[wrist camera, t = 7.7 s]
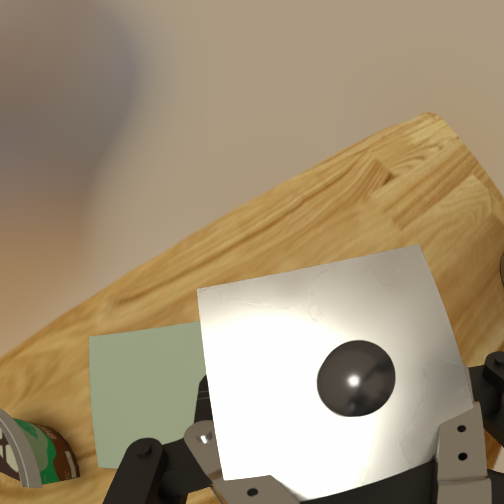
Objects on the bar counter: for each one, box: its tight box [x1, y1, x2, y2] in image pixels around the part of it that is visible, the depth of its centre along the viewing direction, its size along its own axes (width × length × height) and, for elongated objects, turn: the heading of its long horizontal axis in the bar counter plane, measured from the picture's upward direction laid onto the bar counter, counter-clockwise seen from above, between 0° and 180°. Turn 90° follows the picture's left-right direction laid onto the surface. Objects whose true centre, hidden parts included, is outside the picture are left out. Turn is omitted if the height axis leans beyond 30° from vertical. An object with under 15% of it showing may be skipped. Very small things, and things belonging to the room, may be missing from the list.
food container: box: [0, 409, 80, 488], centre depth 20 cm, size 12×6×10 cm, turn 93°
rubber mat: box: [89, 321, 207, 469], centre depth 26 cm, size 14×14×1 cm
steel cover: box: [197, 244, 473, 502], centre depth 11 cm, size 6×6×12 cm
